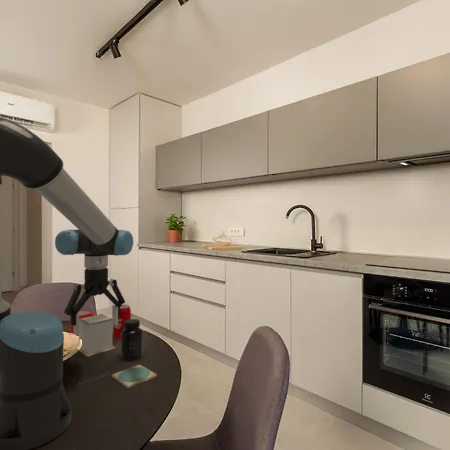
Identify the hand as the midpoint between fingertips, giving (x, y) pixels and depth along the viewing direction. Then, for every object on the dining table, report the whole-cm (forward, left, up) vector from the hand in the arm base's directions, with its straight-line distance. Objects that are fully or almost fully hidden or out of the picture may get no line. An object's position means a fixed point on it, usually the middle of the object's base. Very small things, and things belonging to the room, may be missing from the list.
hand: (96, 329), depth 109 cm
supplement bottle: (+5, -15, -7) cm, 17 cm away
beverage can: (+12, +4, -7) cm, 14 cm away
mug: (+5, +19, -7) cm, 21 cm away
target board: (-1, -27, -7) cm, 28 cm away
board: (0, 0, -7) cm, 7 cm away
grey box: (0, 0, -6) cm, 6 cm away
